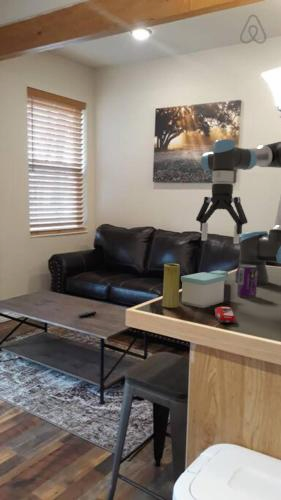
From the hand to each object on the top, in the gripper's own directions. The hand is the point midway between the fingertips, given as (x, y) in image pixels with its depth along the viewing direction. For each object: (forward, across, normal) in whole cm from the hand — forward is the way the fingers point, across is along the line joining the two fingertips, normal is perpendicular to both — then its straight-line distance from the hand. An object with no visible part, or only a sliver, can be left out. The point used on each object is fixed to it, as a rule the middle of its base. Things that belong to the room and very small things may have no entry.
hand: (219, 241), depth 150 cm
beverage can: (+21, +6, +11) cm, 25 cm away
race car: (+22, +16, -21) cm, 35 cm away
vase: (+22, -5, -22) cm, 31 cm away
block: (+15, 0, -7) cm, 16 cm away
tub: (+21, 0, -10) cm, 23 cm away
